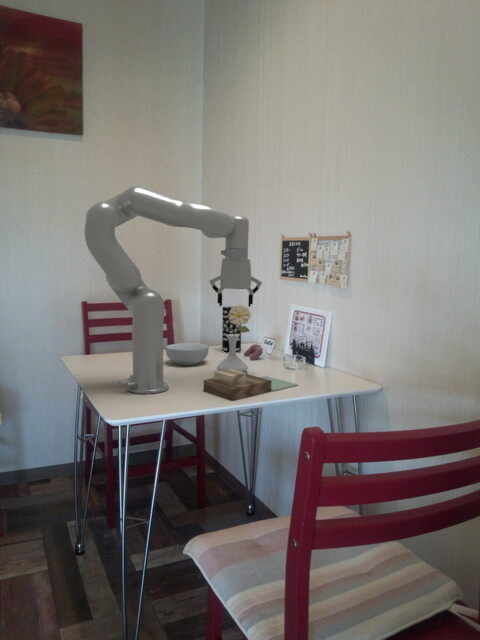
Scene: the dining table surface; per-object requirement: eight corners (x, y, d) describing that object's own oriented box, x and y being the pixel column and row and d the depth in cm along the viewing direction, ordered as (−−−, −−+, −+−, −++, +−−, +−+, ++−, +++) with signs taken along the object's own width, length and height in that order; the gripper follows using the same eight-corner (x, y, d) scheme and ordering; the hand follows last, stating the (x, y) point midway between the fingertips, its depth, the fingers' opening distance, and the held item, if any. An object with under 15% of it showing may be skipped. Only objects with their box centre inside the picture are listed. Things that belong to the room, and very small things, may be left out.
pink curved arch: (258, 364, 199) (266, 348, 200) (249, 359, 198) (257, 344, 198) (251, 359, 209) (258, 344, 209) (242, 355, 207) (249, 340, 208)
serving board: (232, 400, 141) (232, 389, 141) (203, 391, 151) (203, 380, 151) (271, 391, 152) (271, 380, 151) (241, 382, 162) (241, 372, 162)
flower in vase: (211, 373, 175) (211, 304, 172) (226, 367, 185) (226, 302, 182) (243, 377, 169) (243, 306, 166) (257, 371, 179) (258, 304, 176)
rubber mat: (273, 391, 152) (273, 390, 151) (241, 382, 163) (241, 381, 163) (298, 385, 159) (298, 384, 159) (266, 377, 170) (266, 376, 170)
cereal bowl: (212, 360, 199) (213, 343, 198) (202, 369, 183) (202, 350, 182) (173, 358, 202) (173, 341, 201) (159, 366, 185) (159, 348, 185)
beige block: (231, 386, 144) (231, 376, 144) (214, 380, 150) (214, 371, 150) (246, 382, 148) (246, 373, 148) (229, 377, 154) (229, 368, 154)
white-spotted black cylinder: (222, 349, 222) (223, 306, 220) (241, 350, 222) (241, 306, 219) (221, 353, 214) (221, 308, 211) (240, 353, 214) (240, 308, 211)
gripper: (209, 253, 156) (208, 306, 158) (262, 255, 156) (261, 307, 158) (211, 254, 164) (210, 304, 166) (262, 255, 163) (260, 306, 165)
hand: (235, 306), depth 162 cm, fingers open, 9 cm apart
